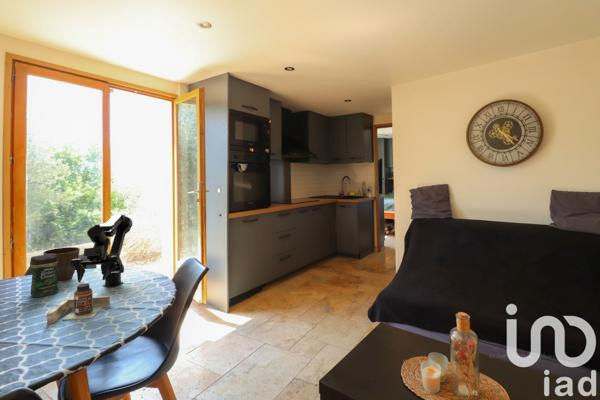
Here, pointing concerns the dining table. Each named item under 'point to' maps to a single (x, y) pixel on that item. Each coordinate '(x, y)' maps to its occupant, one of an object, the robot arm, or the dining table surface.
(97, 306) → the arena
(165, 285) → the dining table surface
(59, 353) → the dining table surface
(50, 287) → the coffee jar
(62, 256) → the plant pot
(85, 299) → the supplement bottle
